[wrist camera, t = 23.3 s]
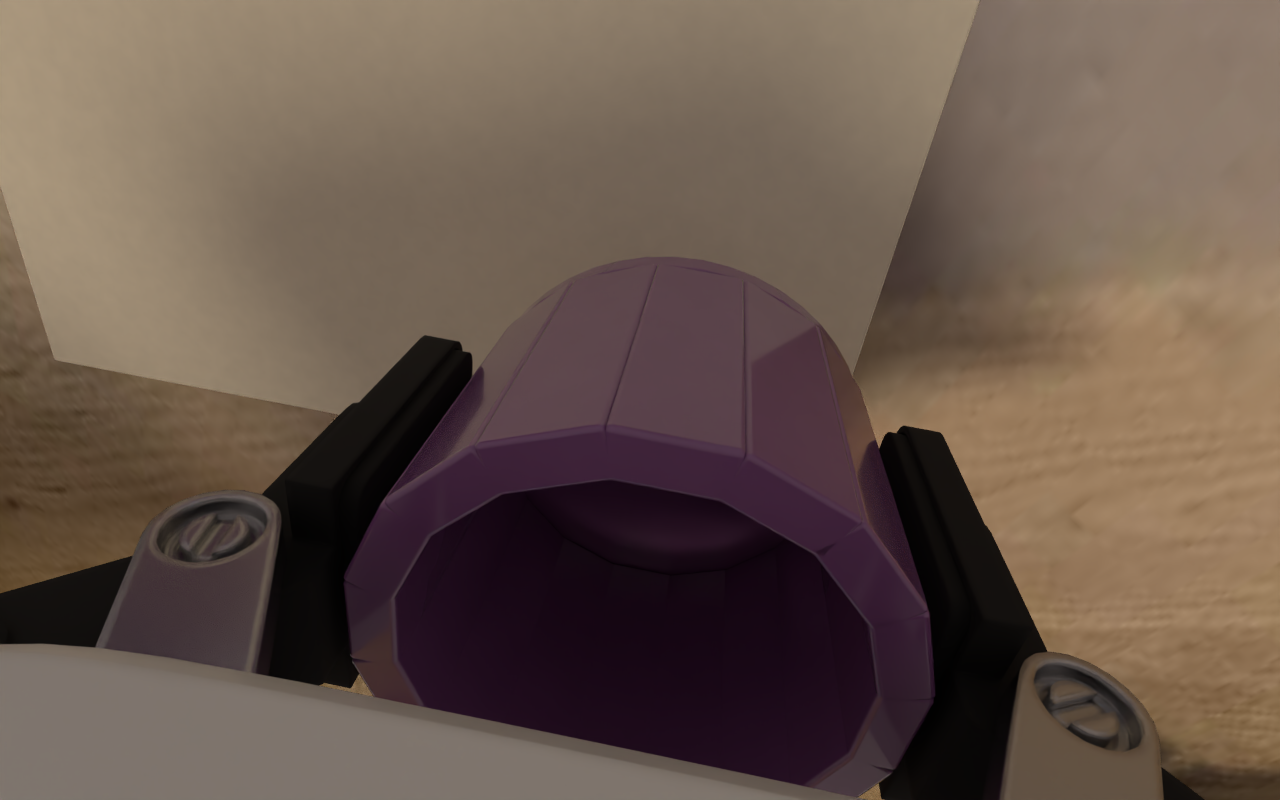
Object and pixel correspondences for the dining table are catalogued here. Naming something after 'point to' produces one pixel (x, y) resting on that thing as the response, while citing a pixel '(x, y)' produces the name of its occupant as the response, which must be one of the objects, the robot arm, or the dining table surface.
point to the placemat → (443, 167)
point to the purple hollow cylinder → (656, 539)
